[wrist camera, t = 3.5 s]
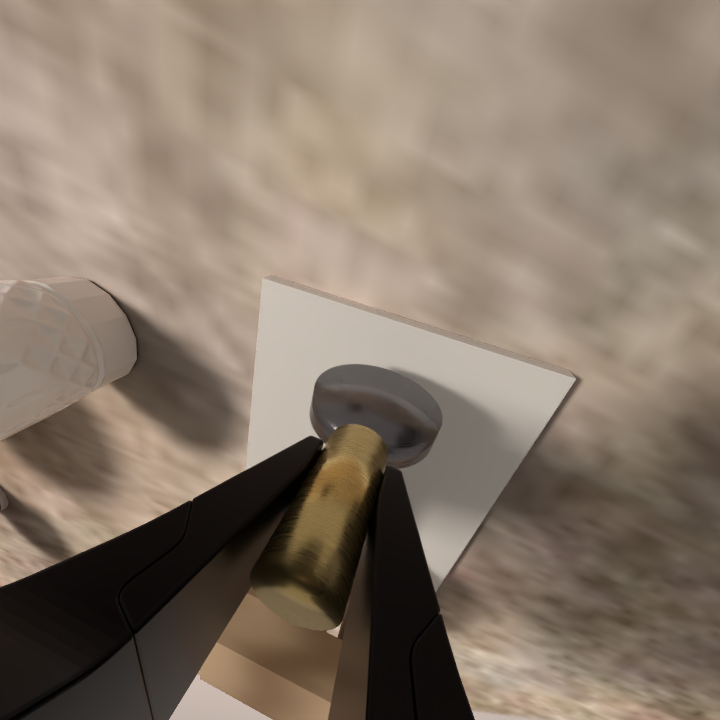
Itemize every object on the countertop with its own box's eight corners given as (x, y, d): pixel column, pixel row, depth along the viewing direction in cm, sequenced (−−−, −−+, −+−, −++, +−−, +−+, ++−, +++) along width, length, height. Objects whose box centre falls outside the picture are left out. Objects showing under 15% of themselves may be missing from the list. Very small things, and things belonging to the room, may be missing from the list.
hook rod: (447, 380, 12) (440, 633, 5) (352, 601, 20) (290, 829, 12) (341, 344, 13) (181, 512, 5) (289, 571, 21) (194, 771, 13)
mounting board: (569, 370, 13) (576, 378, 12) (417, 607, 22) (416, 620, 21) (271, 275, 15) (262, 278, 14) (245, 528, 24) (239, 537, 23)
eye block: (403, 547, 18) (375, 727, 12) (381, 590, 21) (348, 761, 14) (285, 496, 20) (199, 633, 13) (276, 542, 22) (200, 678, 15)
